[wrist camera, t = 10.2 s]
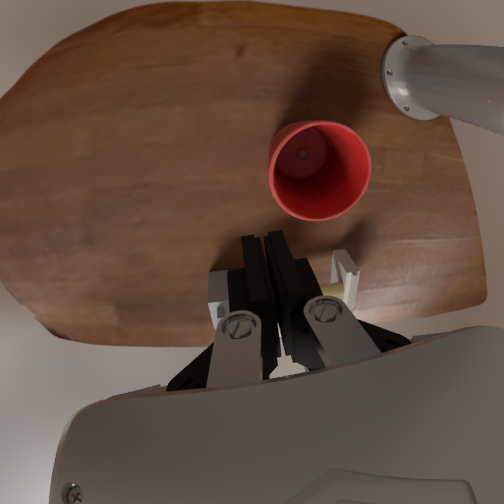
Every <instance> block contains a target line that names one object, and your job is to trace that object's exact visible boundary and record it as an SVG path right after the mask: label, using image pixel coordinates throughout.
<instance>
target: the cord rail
mask: <svg viewBox="0 0 504 504" xmlns="http://www.w3.org/2000/svg"><path fill="white" fill-rule="evenodd" d="M227 271H229V270H221V271H213V272H209V284H208V305H209V309H210V313H211V317H212V321H213V325H214V329H216V328H217V325H218V322H219V321H220V320H221V319H222V317H224V316H225V315H227V314H229V298H228V282H227ZM359 273H360V270H359V269H358V267H357V266H356V264H355V263H354V261H353V260H352V258H351V257H350V255H349V254H348V252H347V251H346V249H339V250H333V258H332V271H331V282H330V283H329V284H323V285H319V286H320V288H321V290H322V293H323V295H327V296H334V297H337V298H339V299H341V300H342V301H343V302H344V303H345V304H346V305H347V307H348V308H349V309H350V311H351V312H352V308H354V304H355V298H356V292H357V286H358V280H359Z"/></svg>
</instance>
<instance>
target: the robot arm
mask: <svg viewBox="0 0 504 504" xmlns="http://www.w3.org/2000/svg"><path fill="white" fill-rule="evenodd" d="M387 72H388V74H387ZM382 79H383V84H384V87H385V90H386V92H387V94H388V96H389V98H390V100H391V101H392V103H393V104H394V105H395V106H396V107H397V108H398V109H399V110H400V111H401V112H402V113H404V114H405V115H407V116H409V117H411V118H415V119H418V120H430V119H433V118H436V117H437V116H439V115H443V116H447V117H450V118H454V119H457V120H460V121H463V122H466V123H469V124H473V125H475V126H478V127H481V128H484V129H486V130H489V131H492V132H494V133H497V134H499V135H502V136H504V47H497V46H482V45H434V44H433V43H432V42H430V41H429V40H427V39H425V38H422V37H420V36H405V37H400V38H398V39H396V40H395V41H393V42H392V43H391V44H390V45H389V47H388V48H387V50H386V51H385V54H384V57H383V61H382ZM241 242H242V249H243V256H244V263H245V268H242V269H236V270H230V271H227V282H228V298H229V314H227V315H225V316H224V317H222V319H221V320H220V321H219V322H218V325H217V328H216V334H215V340H214V342H213V343H212V344H211V345H210V346H209V347H208V348H207V349H206V350H204V351H203V352H202V353H201V354H200V355H199V356H198V357H197V358H195V359H194V360H193V361H192V362H191V363H190V364H189V365H188V366H186V367H185V368H184V369H183V370H182V371H181V372H180V373H178V374H177V375H176V376H175V377H174V378H173V379H172V380H171V381H170V382H169V383H168V385H167V386H163V387H161V385H160V384H159V385H155V386H152V387H148V388H144V389H140V390H136V391H132V392H128V393H124V394H119V395H115V396H112V397H109V398H107V399H105V400H101V401H98V402H95V403H93V404H90V405H88V406H86V407H84V408H82V409H80V410H79V411H77V412H76V413H75V414H74V415H73V416H72V417H71V418H70V419H69V421H68V422H67V424H66V426H65V428H64V431H63V433H62V436H61V439H60V442H59V445H58V449H57V453H56V457H55V463H54V467H53V472H52V479H51V487H50V496H49V504H504V329H502V328H499V327H495V326H473V327H465V328H461V329H457V330H453V331H450V332H443V333H435V334H426V335H417V336H412V339H407V338H406V337H404V336H402V335H400V334H397V333H394V332H391V331H388V330H386V329H383V328H380V327H377V326H375V325H372V324H369V323H367V322H364V321H361V320H358V319H356V317H355V316H354V315H353V313H352V312H351V311H350V309H349V308H348V307H347V305H346V304H345V303H344V302H343V301H342V300H341V299H339V298H337V297H334V296H327V295H323V293H322V290H321V288H320V286H319V284H318V282H317V279H316V277H315V275H314V273H313V270H312V268H311V266H310V264H309V262H308V260H307V258H300V259H294V260H293V257H292V255H291V252H290V249H289V247H288V244H287V242H286V239H285V237H284V234H283V232H282V230H278V231H272V232H268V236H264V244H265V251H266V259H267V264H266V260H265V256H264V252H263V248H262V244H261V240H260V237H258V238H255V237H254V235H248V236H242V237H241ZM267 267H268V268H267ZM278 325H279V328H278ZM279 329H280V333H281V338H282V342H283V346H284V350H285V354H286V356H288V355H291V357H292V361H293V363H295V362H297V363H299V364H301V365H303V366H305V371H306V372H304V373H299V374H294V375H288V376H283V377H278V378H272V379H270V374H271V373H272V371H273V370H274V369H275V368H276V367H277V366H278V362H277V357H281V347H280V338H279Z"/></svg>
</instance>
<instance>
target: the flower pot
mask: <svg viewBox="0 0 504 504" xmlns="http://www.w3.org/2000/svg"><path fill="white" fill-rule="evenodd" d="M371 172H372V162H371V156H370V152H369V149H368V147H367V145H366V143H365V142H364V140H363V139H362V138H361V136H360V135H359V134H358V133H357V132H355V131H354V130H353V129H351V128H350V127H348V126H346V125H344V124H342V123H339V122H335V121H328V120H309V121H299V122H295V123H291V124H288V125H286V126H284V127H283V128H281V129H280V130H279V131H278V132H277V133H276V134H275V136H274V137H273V139H272V142H271V145H270V150H269V159H268V176H269V184H270V188H271V191H272V194H273V196H274V198H275V200H276V201H277V203H278V204H279V205H280V206H281V207H282V209H284V210H285V211H286V212H287V213H289V214H290V215H292V216H294V217H296V218H299V219H302V220H307V221H323V220H328V219H332V218H335V217H337V216H339V215H341V214H343V213H345V212H347V211H348V210H349V209H351V208H352V207H353V206H354V205H355V204H356V203H357V202H358V201H359V200H360V198H361V197H362V196H363V194H364V192H365V190H366V188H367V186H368V183H369V181H370V177H371Z"/></svg>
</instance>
